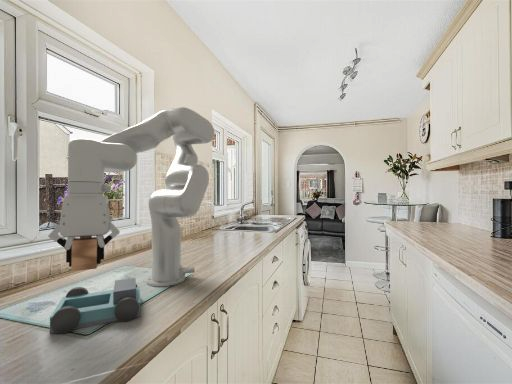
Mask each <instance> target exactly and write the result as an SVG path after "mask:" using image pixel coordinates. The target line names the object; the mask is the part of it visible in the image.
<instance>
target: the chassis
mask: <svg viewBox="0 0 512 384" xmlns="http://www.w3.org/2000/svg"><path fill="white" fill-rule="evenodd" d="M136 280H137V279H136V277H132V278H125V279H123V278H122V279H115V280H114V284H113V289H111V290H110V289H109V290H103V291H97V292H89V290H88V289H87V288H85V287H82V286H75V287H72V288H70V289H69V291H68V292H66V295H65V296H62V298H61V299H60V300H59V302H58V304H56V307H55V308H54V310H53V312H52V313H51V315H50V316H49V334H53V333H54V334H55V333H57V334H61V335H62V334H67V333H70V332H72V331H73V330H75V329H80V328H81V327H82V328H86V326H87V327H92V326H97V325H96V324H98V325H102V324H101V323H103V324H106V323H105V322H108V323H113V322H122V323H126V322H130V321H132V320H134V319H135V318H140V317H142V316H141V315H142V314H141V313H142V312H141V309H142V307H141V294H140V293H141V292H140V286H138V285H137V282H136ZM91 325H92V326H91Z"/></svg>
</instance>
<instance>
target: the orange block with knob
mask: <svg viewBox="0 0 512 384" xmlns="http://www.w3.org/2000/svg"><path fill="white" fill-rule="evenodd" d="M97 248H98V241H97V238H96V236H85V237H76V238H75V239H74V240H72V263H71V270H70V272H76V271H86V270H87V271H88V270H97V268H98V266H99V264H97Z"/></svg>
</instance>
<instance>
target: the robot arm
mask: <svg viewBox="0 0 512 384" xmlns="http://www.w3.org/2000/svg"><path fill="white" fill-rule="evenodd" d="M170 137H172V141H173V143H174V145H175V152H176V154H175V157H174V159H173V161H172V163H171V165H170V166H169V169H168V170H167V173H166V175H165V179H164V183H165V186H166V187H167V188H165V189H164V188H163V189H161V188H160V189H157V190H155V191H154V192H152V194H151V195H150V196H149V198H148V210H149V215H150V222H151V275H150V276H148V277H147V278H146V284H147V285H149V286H152V287H169V286H170V285H171V286H175V285H178V284H181V283H183V282H184V281H185V280H186V274H192V273H193V274H194V273H195V266H192V267H191V266H185V267H184V266H183V265H182V251H181V250H182V248H181V247H182V245H181V244H182V243H181V239H182V230H181V229H182V228H181V225H180V222H179V221H178V218H181V219H182V218H183V219H186V218H187V219H188V218H192V217H194V216H195V215H196V214H197V212H198V211H199V209H200V207H201V204H202V202H203V199H204V196H205V193H206V191H207V188H208V186H209V180H210V179H209V178H210V176H209V172H208V169H207V168H206V167H205V166H204V165H202V164H198V161H199V158H198V155H197V153H196V151H195V150H194V147H193V146H192V145H200V144H201V145H203V144H208V143H211V142H212V141H213V140H214V137H215V129H214V126H213V124H212V123H211V122H210V121H209V120H208V119H207V118H205V117H204V116H202V115H201V114H200V113H198V112H196V111H194V110H193V109H190V108H188V107H185V106H182V107H176V108H174V107H173V108H168V109H164V110H160V111H158V112H157V113H155V114H153V115H151V116H150V117H148V118H146V119H144V120H143V121H142V122H140V123H138V124H136V125H133V126H129V127H128V128H125V129H124V130H121V131H118V132H116V133H113V134H111V135H109V136H107V137H105V138H103V139H101V140H97V139H92V138H86V137H85V138H81V137H79V138H77V137H76V138H73V139H71V140H70V141H69V142H68V144H67V145H68V148H67V149H68V150H67V160H68V161H67V162H68V163H67V195H64V196H63V200H62V203H61V204H62V205H61V210H60V211H61V212H60V220H59V224H58V225H57V226H56V227H55V228H54V229H53V230H52V231H51V232H50V233H49V234H48V238H49V239H51V240H53V241H54V242H56V243H57V244H59V245H60V246H61V247H62V248H64V250H66V251H65V254H66V255H65V259H66V260H65V262H66V263H68V267H69V268H70V267H71V263H72V240H74V239H75V238H80V237H85V236H92V237H96V238H97V241H98V248H97V264H98V265H101V263H102V260H104V259H105V246H106V245H108V243H109V242H110V241H112V239H114V238H116V237H117V236H118V235H120V230H119V229H118V228H117V226H115V225H114V224H113V222H112V221H111V213H110V210H111V209H110V201H109V196H108V195H105V193H106V192H110V191H111V190H112V189H111V187H112V186H111V185H108V184H106V183H105V173H121V172H122V173H123V172H128V171H130V170H132V169H134V168H135V166H136V165H137V162H138V156H137V154H138V153H143V152H147V151H150V150H153V149H155V148H157V147H158V146H160V145H161V144H162V143H164V142H165V141H166V140H168V139H170ZM109 231H111V233H109ZM108 233H109V234H108ZM107 234H108V235H107ZM105 235H107V236H106V237H105Z"/></svg>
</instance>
